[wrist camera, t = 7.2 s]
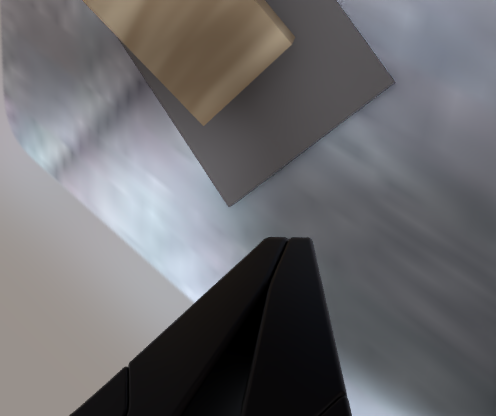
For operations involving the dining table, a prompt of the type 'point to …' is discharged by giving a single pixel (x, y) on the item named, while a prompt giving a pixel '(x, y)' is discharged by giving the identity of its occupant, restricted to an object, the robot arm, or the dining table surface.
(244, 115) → the rubber mat
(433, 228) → the dining table surface
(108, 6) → the domino
